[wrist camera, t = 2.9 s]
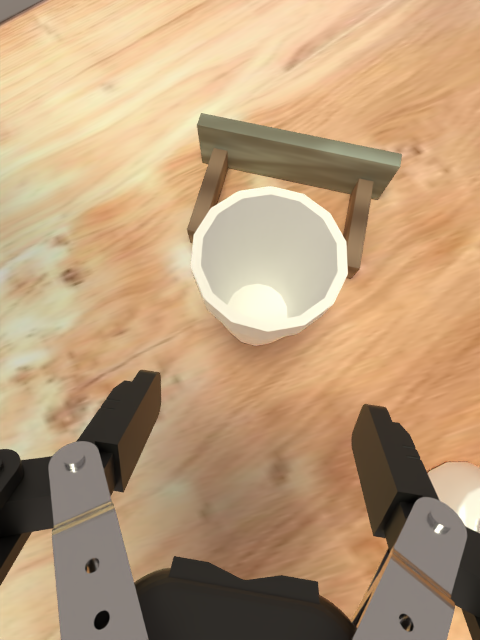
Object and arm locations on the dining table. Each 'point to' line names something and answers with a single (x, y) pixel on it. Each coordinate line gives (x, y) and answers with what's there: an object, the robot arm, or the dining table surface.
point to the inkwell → (459, 490)
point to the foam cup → (268, 263)
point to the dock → (294, 169)
